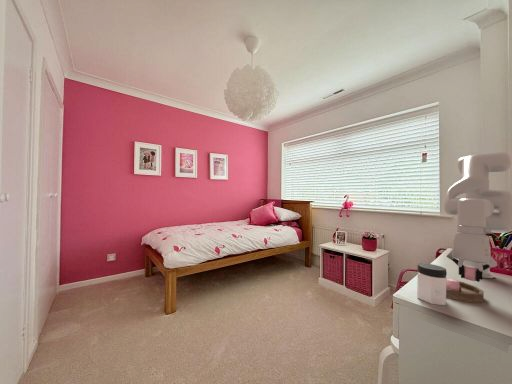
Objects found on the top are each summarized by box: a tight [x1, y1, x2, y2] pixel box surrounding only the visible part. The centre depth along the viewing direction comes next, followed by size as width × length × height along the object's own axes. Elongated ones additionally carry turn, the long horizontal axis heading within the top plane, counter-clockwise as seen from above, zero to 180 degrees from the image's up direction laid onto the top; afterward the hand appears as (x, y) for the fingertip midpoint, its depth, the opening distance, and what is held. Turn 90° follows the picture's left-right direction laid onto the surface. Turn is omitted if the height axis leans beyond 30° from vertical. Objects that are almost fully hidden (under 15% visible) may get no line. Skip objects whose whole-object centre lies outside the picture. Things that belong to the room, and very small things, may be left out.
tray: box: [446, 280, 485, 304], centre depth 83 cm, size 16×16×3 cm
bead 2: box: [463, 266, 477, 282], centre depth 79 cm, size 4×4×4 cm
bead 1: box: [446, 278, 459, 292], centre depth 80 cm, size 4×4×4 cm
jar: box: [416, 262, 448, 306], centre depth 76 cm, size 9×8×12 cm
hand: (470, 278), depth 79 cm, fingers closed on bead 2, 3 cm apart
